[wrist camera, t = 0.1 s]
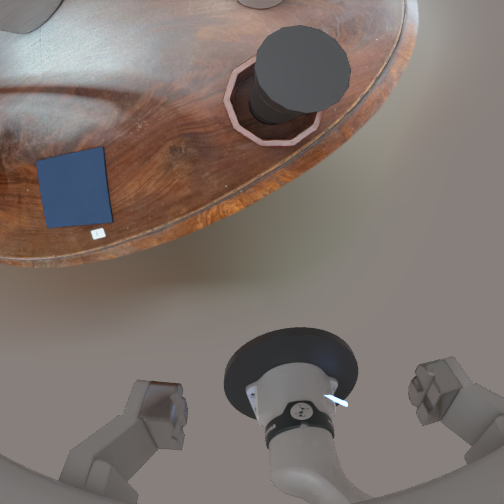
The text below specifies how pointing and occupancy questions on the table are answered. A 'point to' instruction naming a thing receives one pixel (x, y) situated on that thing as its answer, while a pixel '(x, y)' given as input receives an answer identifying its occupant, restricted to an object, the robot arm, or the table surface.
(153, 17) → the table surface
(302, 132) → the terracotta pot
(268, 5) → the beverage can
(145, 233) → the table surface
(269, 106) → the candle holder
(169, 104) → the table surface
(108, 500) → the robot arm
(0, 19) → the vase
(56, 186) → the blue cloth
